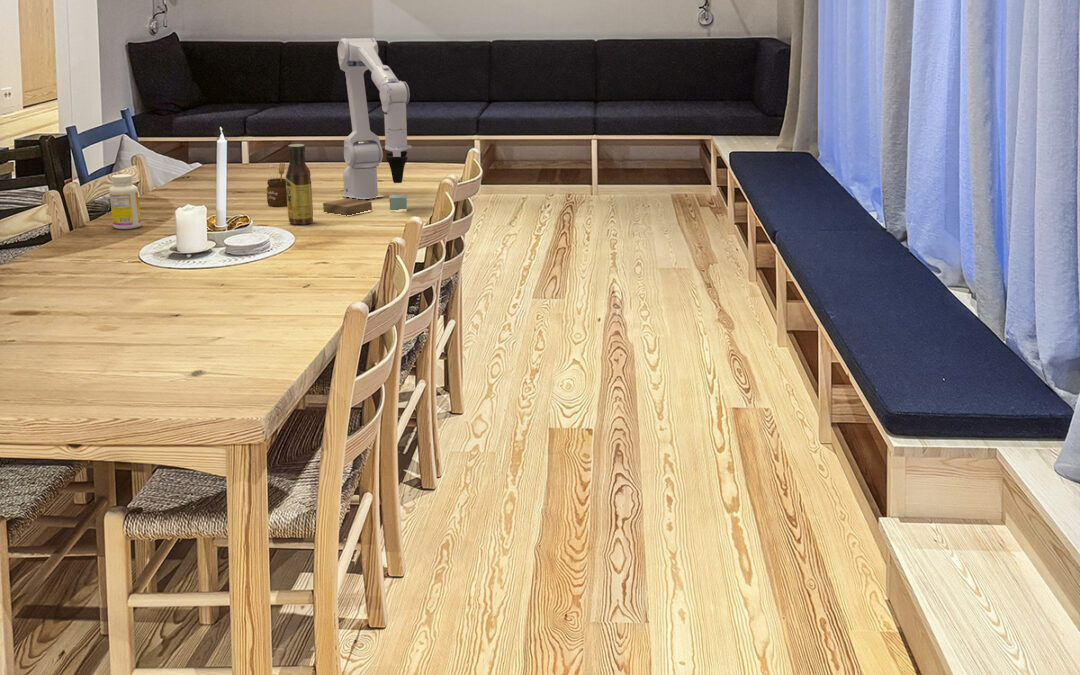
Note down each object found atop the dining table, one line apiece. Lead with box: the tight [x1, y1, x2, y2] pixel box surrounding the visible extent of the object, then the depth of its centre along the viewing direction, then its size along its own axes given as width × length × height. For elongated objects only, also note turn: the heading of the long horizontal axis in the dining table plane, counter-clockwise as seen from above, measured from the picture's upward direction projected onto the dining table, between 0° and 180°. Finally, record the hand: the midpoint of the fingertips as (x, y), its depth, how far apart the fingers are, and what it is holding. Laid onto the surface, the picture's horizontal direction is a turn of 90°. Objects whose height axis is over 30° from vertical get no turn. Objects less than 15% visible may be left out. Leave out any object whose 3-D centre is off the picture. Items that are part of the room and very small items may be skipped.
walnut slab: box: [322, 198, 373, 217], centre depth 296 cm, size 9×9×3 cm
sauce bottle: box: [285, 143, 314, 226], centre depth 279 cm, size 6×6×20 cm
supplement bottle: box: [108, 173, 142, 230], centre depth 274 cm, size 7×7×13 cm
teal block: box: [389, 194, 408, 211], centre depth 298 cm, size 4×4×4 cm
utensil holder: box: [266, 162, 287, 208], centre depth 303 cm, size 6×6×12 cm
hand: (397, 180), depth 296 cm, fingers open, 7 cm apart
